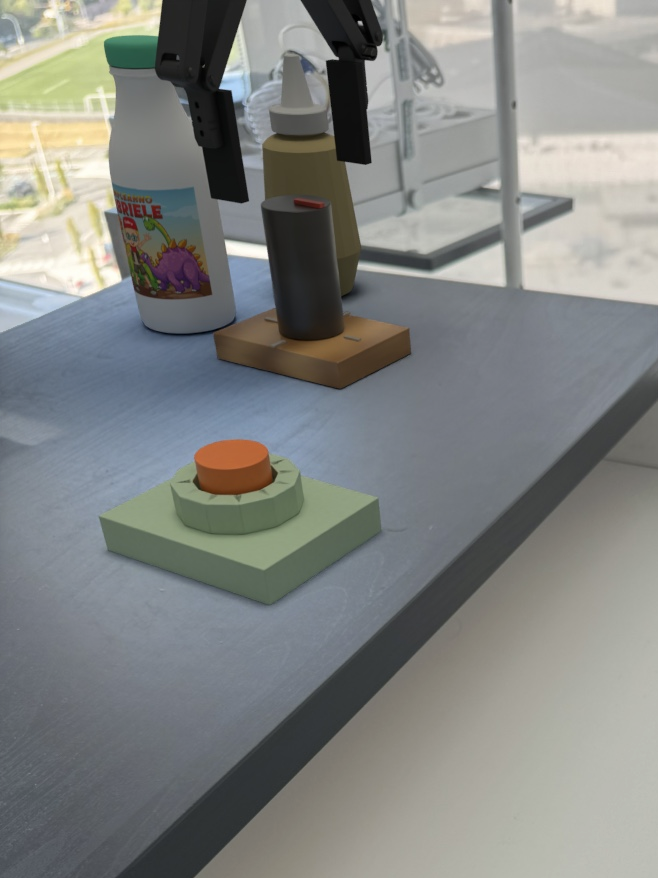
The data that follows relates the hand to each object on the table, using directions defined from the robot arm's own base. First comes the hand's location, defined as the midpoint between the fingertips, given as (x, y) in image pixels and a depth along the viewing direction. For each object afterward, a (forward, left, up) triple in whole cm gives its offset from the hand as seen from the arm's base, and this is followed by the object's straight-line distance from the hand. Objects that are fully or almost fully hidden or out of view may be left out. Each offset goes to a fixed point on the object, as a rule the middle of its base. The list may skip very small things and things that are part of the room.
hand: (295, 180), depth 83 cm
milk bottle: (-14, +1, -13) cm, 19 cm away
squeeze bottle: (-10, +13, -13) cm, 21 cm away
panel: (0, 0, -13) cm, 13 cm away
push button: (+16, -26, -9) cm, 32 cm away
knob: (0, 0, -10) cm, 10 cm away
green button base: (+16, -26, -13) cm, 33 cm away
